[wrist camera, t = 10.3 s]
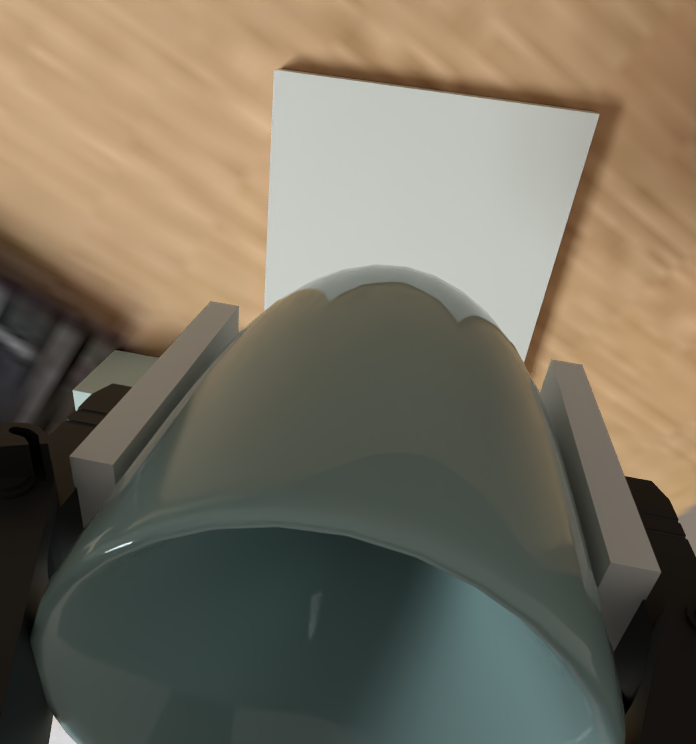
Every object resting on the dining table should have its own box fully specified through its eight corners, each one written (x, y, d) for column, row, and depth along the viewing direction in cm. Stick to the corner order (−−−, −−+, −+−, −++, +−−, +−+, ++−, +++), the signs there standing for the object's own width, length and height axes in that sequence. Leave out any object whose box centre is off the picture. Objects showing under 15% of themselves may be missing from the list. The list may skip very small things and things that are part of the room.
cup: (358, 511, 19) (277, 902, 10) (194, 327, 17) (-86, 642, 8) (587, 405, 16) (743, 844, 7) (427, 158, 13) (377, 382, 5)
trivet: (267, 341, 29) (262, 349, 28) (279, 68, 23) (274, 69, 22) (513, 384, 28) (514, 393, 27) (595, 111, 22) (599, 114, 21)
